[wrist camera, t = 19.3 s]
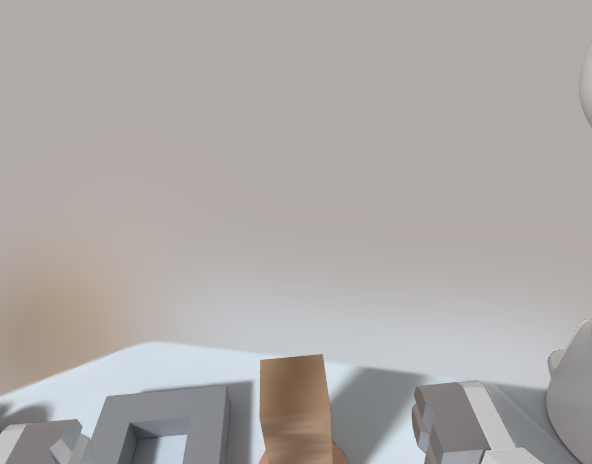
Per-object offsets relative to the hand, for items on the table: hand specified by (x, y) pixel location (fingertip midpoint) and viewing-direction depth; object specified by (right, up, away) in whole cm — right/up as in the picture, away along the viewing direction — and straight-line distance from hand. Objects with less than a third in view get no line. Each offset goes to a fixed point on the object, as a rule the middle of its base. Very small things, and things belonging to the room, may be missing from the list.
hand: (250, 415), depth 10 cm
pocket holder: (-12, -19, +31) cm, 38 cm away
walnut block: (+2, -19, +29) cm, 34 cm away
